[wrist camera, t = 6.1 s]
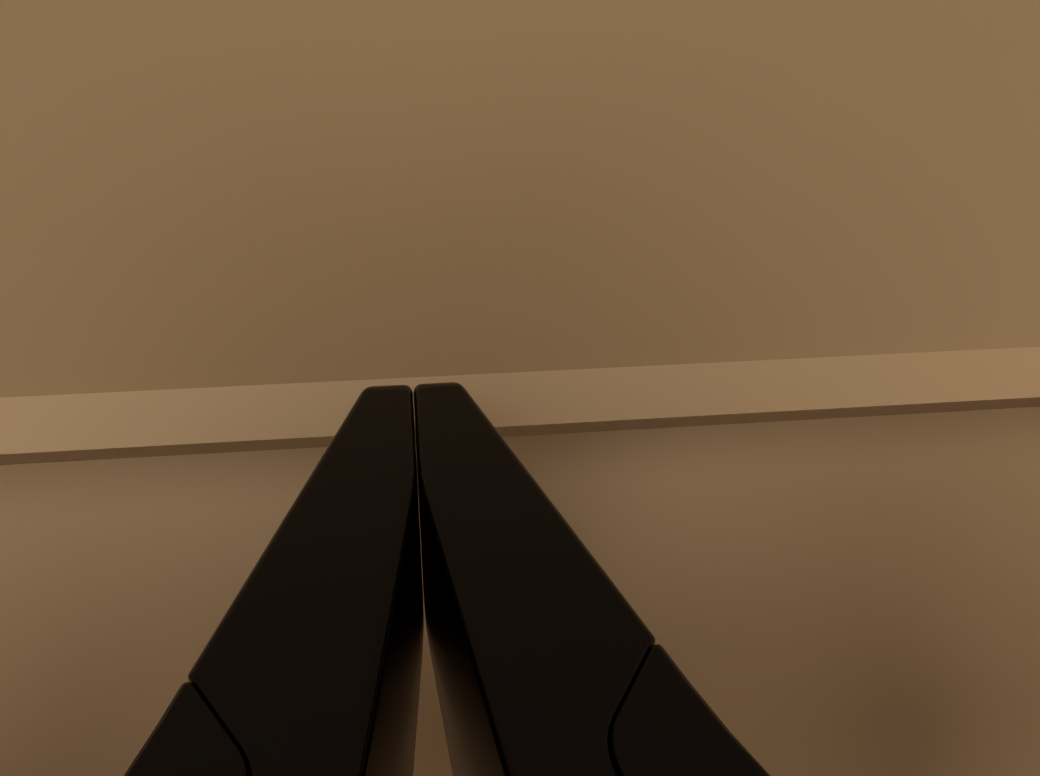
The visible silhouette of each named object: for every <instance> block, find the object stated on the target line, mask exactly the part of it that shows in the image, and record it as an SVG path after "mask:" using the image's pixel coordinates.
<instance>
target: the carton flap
mask: <svg viewBox="0 0 1040 776" xmlns="http://www.w3.org/2000/svg"><path fill="white" fill-rule="evenodd" d="M1022 347H1040V0H0V398H5V397H25V396H45V395H66V394H86V393H106V392H127V391H147V390H167V389H188V388H208V387H228V386H249V385H269V384H290V383H310V382H330V381H351V380H371V379H391V378H412V377H432V376H452V375H473V374H493V373H513V372H534V371H554V370H574V369H595V368H615V367H636V366H656V365H676V364H697V363H717V362H737V361H758V360H778V359H798V358H819V357H839V356H859V355H880V354H900V353H921V352H941V351H961V350H982V349H1002V348H1022Z"/></svg>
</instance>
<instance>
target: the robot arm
mask: <svg viewBox="0 0 1040 776" xmlns="http://www.w3.org/2000/svg"><path fill="white" fill-rule="evenodd" d="M413 396H414V406H413ZM414 417H415V424H414ZM415 437H416V443H415ZM416 458H417V461H416ZM417 477H418V481H417ZM418 497H419V501H418ZM419 516H420V522H419ZM420 535H421V543H420ZM421 554H422V563H421ZM422 573H423V584H422ZM423 592H424V608H425V620H426V629H427V636H428V643H429V649H430V655H431V661H432V666H433V671H434V677H435V682H436V688H437V693H438V698H439V704H440V709H441V714H442V720H443V725H444V731H445V736H446V741H447V747H448V752H449V758H450V763H451V768H452V774H453V776H771V775H770V774H769V773H768V772H767V771H766V770H765V769H764V768H763V767H762V766H761V765H760V763H759V762H758V761H757V760H756V759H755V758H754V757H753V756H752V755H751V754H750V753H749V752H748V750H747V749H746V748H745V747H744V746H743V745H742V744H741V743H740V742H739V741H738V740H737V739H736V737H735V736H734V735H733V734H732V733H731V732H730V731H729V730H728V728H727V727H726V726H725V725H724V723H723V722H722V721H721V720H720V719H719V717H718V716H717V715H716V714H715V712H714V711H713V710H712V709H711V707H710V706H709V705H708V704H707V703H706V701H705V700H704V699H703V698H702V696H701V695H700V694H699V693H698V692H697V690H696V689H695V688H694V687H693V685H692V684H691V683H690V682H689V681H688V679H687V678H686V677H685V675H684V674H683V673H682V671H681V670H680V669H679V667H678V666H677V665H676V663H675V662H674V661H673V660H672V658H671V657H670V656H669V654H668V653H667V652H666V650H665V649H664V648H663V646H662V645H660V644H655V637H654V635H653V634H652V633H651V631H650V630H649V629H648V627H647V626H646V625H645V623H644V622H643V621H642V620H641V618H640V617H639V616H638V614H637V613H636V612H635V610H634V609H633V608H632V606H631V605H630V604H629V603H628V601H627V600H626V599H625V597H624V596H623V595H622V593H621V592H620V591H619V589H618V588H617V587H616V586H615V584H614V583H613V582H612V580H611V579H610V578H609V576H608V575H607V574H606V572H605V571H604V570H603V569H602V567H601V566H600V565H599V563H598V562H597V561H596V559H595V558H594V557H593V555H592V554H591V553H590V552H589V550H588V549H587V548H586V546H585V545H584V544H583V542H582V541H581V540H580V538H579V537H578V536H577V535H576V533H575V532H574V531H573V529H572V528H571V527H570V525H569V524H568V523H567V521H566V520H565V519H564V518H563V516H562V515H561V514H560V512H559V511H558V510H557V508H556V507H555V506H554V504H553V503H552V502H551V500H550V499H549V498H548V497H547V495H546V494H545V493H544V491H543V490H542V489H541V487H540V486H539V485H538V483H537V482H536V481H535V480H534V478H533V477H532V476H531V474H530V473H529V472H528V470H527V469H526V468H525V466H524V465H523V464H522V463H521V461H520V460H519V459H518V457H517V456H516V455H515V453H514V452H513V451H512V449H511V448H510V447H509V446H508V444H507V443H506V442H505V440H504V439H503V438H502V436H501V435H500V434H499V432H498V431H497V430H496V429H495V427H494V426H493V425H492V423H491V422H490V421H489V419H488V418H487V417H486V415H485V414H484V413H483V412H482V410H481V409H480V408H479V406H478V405H477V404H476V402H475V401H474V400H473V398H472V397H471V396H470V394H469V393H468V392H467V391H466V389H465V388H464V387H463V386H462V385H461V384H459V383H455V382H448V383H428V384H419V385H417V386H416V387H415V389H414V392H412V389H411V388H410V387H409V386H407V385H388V386H371V387H367V388H366V389H364V390H363V391H362V393H361V394H360V395H359V397H358V399H357V400H356V402H355V404H354V405H353V407H352V408H351V410H350V412H349V413H348V415H347V417H346V418H345V420H344V421H343V423H342V425H341V426H340V428H339V430H338V431H337V433H336V434H335V436H334V438H333V439H332V441H331V443H330V444H329V446H328V448H327V449H326V451H325V452H324V454H323V456H322V457H321V459H320V461H319V462H318V464H317V465H316V467H315V469H314V470H313V472H312V474H311V475H310V477H309V478H308V480H307V482H306V483H305V485H304V487H303V488H302V490H301V491H300V493H299V495H298V496H297V498H296V500H295V501H294V503H293V505H292V506H291V508H290V509H289V511H288V513H287V514H286V516H285V518H284V519H283V521H282V522H281V524H280V526H279V527H278V529H277V531H276V532H275V534H274V535H273V537H272V539H271V540H270V542H269V544H268V545H267V547H266V548H265V550H264V552H263V553H262V555H261V557H260V558H259V560H258V561H257V563H256V565H255V566H254V568H253V570H252V571H251V573H250V575H249V576H248V578H247V579H246V581H245V583H244V584H243V586H242V588H241V589H240V591H239V592H238V594H237V596H236V597H235V599H234V601H233V602H232V604H231V605H230V607H229V609H228V610H227V612H226V614H225V615H224V617H223V618H222V620H221V622H220V623H219V625H218V627H217V628H216V630H215V632H214V633H213V635H212V636H211V638H210V640H209V641H208V643H207V645H206V646H205V648H204V649H203V651H202V653H201V654H200V656H199V658H198V659H197V661H196V662H195V664H194V666H193V667H192V669H191V671H190V672H189V674H188V680H189V682H185V683H183V684H182V685H181V686H180V688H179V689H178V691H177V692H176V694H175V696H174V697H173V699H172V701H171V702H170V704H169V706H168V707H167V709H166V710H165V712H164V714H163V715H162V717H161V719H160V720H159V722H158V724H157V725H156V727H155V728H154V730H153V731H152V733H151V734H150V736H149V737H148V739H147V740H146V742H145V744H144V745H143V747H142V748H141V750H140V751H139V753H138V754H137V756H136V757H135V759H134V760H133V762H132V763H131V765H130V766H129V768H128V769H127V771H126V772H125V774H124V775H123V776H413V769H414V757H415V744H416V731H417V719H418V706H419V693H420V681H421V668H422V655H423V635H424V608H423Z"/></svg>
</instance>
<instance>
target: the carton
mask: <svg viewBox="0 0 1040 776" xmlns="http://www.w3.org/2000/svg"><path fill="white" fill-rule="evenodd" d="M448 382H455V383H459V384H461V385H462V386H463V387H464V388H465V389H466V391H467V392H468V393H469V394H470V396H471V397H472V398H473V400H474V401H475V402H476V404H477V405H478V406H479V408H480V409H481V410H482V412H483V413H484V414H485V415H486V417H487V418H488V419H489V421H490V422H491V423H492V425H493V426H494V427H495V429H496V430H497V431H498V432H499V434H500V435H501V436H502V438H503V439H504V440H505V442H506V443H507V444H508V446H509V447H510V448H511V449H512V451H513V452H514V453H515V455H516V456H517V457H518V459H519V460H520V461H521V463H522V464H523V465H524V466H525V468H526V469H527V470H528V472H529V473H530V474H531V476H532V477H533V478H534V480H535V481H536V482H537V483H538V485H539V486H540V487H541V489H542V490H543V491H544V493H545V494H546V495H547V497H548V498H549V499H550V500H551V502H552V503H553V504H554V506H555V507H556V508H557V510H558V511H559V512H560V514H561V515H562V516H563V518H564V519H565V520H566V521H567V523H568V524H569V525H570V527H571V528H572V529H573V531H574V532H575V533H576V535H577V536H578V537H579V538H580V540H581V541H582V542H583V544H584V545H585V546H586V548H587V549H588V550H589V552H590V553H591V554H592V555H593V557H594V558H595V559H596V561H597V562H598V563H599V565H600V566H601V567H602V569H603V570H604V571H605V572H606V574H607V575H608V576H609V578H610V579H611V580H612V582H613V583H614V584H615V586H616V587H617V588H618V589H619V591H620V592H621V593H622V595H623V596H624V597H625V599H626V600H627V601H628V603H629V604H630V605H631V606H632V608H633V609H634V610H635V612H636V613H637V614H638V616H639V617H640V618H641V620H642V621H643V622H644V623H645V625H646V626H647V627H648V629H649V630H650V631H651V633H652V634H653V635H654V637H655V644H660V645H662V646H663V648H664V649H665V650H666V652H667V653H668V654H669V656H670V657H671V658H672V660H673V661H674V662H675V663H676V665H677V666H678V667H679V669H680V670H681V671H682V673H683V674H684V675H685V677H686V678H687V679H688V681H689V682H690V683H691V684H692V685H693V687H694V688H695V689H696V690H697V692H698V693H699V694H700V695H701V696H702V698H703V699H704V700H705V701H706V703H707V704H708V705H709V706H710V707H711V709H712V710H713V711H714V712H715V714H716V715H717V716H718V717H719V719H720V720H721V721H722V722H723V723H724V725H725V726H726V727H727V728H728V730H729V731H730V732H731V733H732V734H733V735H734V736H735V737H736V739H737V740H738V741H739V742H740V743H741V744H742V745H743V746H744V747H745V748H746V749H747V750H748V752H749V753H750V754H751V755H752V756H753V757H754V758H755V759H756V760H757V761H758V762H759V763H760V765H761V766H762V767H763V768H764V769H765V770H766V771H767V772H768V773H769V774H770V775H771V776H1040V347H1022V348H1002V349H982V350H961V351H941V352H921V353H900V354H880V355H859V356H839V357H819V358H798V359H778V360H758V361H737V362H717V363H697V364H676V365H656V366H636V367H615V368H595V369H574V370H554V371H534V372H513V373H493V374H473V375H452V376H432V377H412V378H391V379H371V380H351V381H330V382H310V383H290V384H269V385H249V386H228V387H208V388H188V389H167V390H147V391H127V392H106V393H86V394H66V395H45V396H25V397H5V398H0V776H123V775H124V774H125V772H126V771H127V769H128V768H129V766H130V765H131V763H132V762H133V760H134V759H135V757H136V756H137V754H138V753H139V751H140V750H141V748H142V747H143V745H144V744H145V742H146V740H147V739H148V737H149V736H150V734H151V733H152V731H153V730H154V728H155V727H156V725H157V724H158V722H159V720H160V719H161V717H162V715H163V714H164V712H165V710H166V709H167V707H168V706H169V704H170V702H171V701H172V699H173V697H174V696H175V694H176V692H177V691H178V689H179V688H180V686H181V685H182V684H183V683H185V682H189V680H188V674H189V672H190V671H191V669H192V667H193V666H194V664H195V662H196V661H197V659H198V658H199V656H200V654H201V653H202V651H203V649H204V648H205V646H206V645H207V643H208V641H209V640H210V638H211V636H212V635H213V633H214V632H215V630H216V628H217V627H218V625H219V623H220V622H221V620H222V618H223V617H224V615H225V614H226V612H227V610H228V609H229V607H230V605H231V604H232V602H233V601H234V599H235V597H236V596H237V594H238V592H239V591H240V589H241V588H242V586H243V584H244V583H245V581H246V579H247V578H248V576H249V575H250V573H251V571H252V570H253V568H254V566H255V565H256V563H257V561H258V560H259V558H260V557H261V555H262V553H263V552H264V550H265V548H266V547H267V545H268V544H269V542H270V540H271V539H272V537H273V535H274V534H275V532H276V531H277V529H278V527H279V526H280V524H281V522H282V521H283V519H284V518H285V516H286V514H287V513H288V511H289V509H290V508H291V506H292V505H293V503H294V501H295V500H296V498H297V496H298V495H299V493H300V491H301V490H302V488H303V487H304V485H305V483H306V482H307V480H308V478H309V477H310V475H311V474H312V472H313V470H314V469H315V467H316V465H317V464H318V462H319V461H320V459H321V457H322V456H323V454H324V452H325V451H326V449H327V448H328V446H329V444H330V443H331V441H332V439H333V438H334V436H335V434H336V433H337V431H338V430H339V428H340V426H341V425H342V423H343V421H344V420H345V418H346V417H347V415H348V413H349V412H350V410H351V408H352V407H353V405H354V404H355V402H356V400H357V399H358V397H359V395H360V394H361V393H362V391H363V390H364V389H366V388H367V387H371V386H388V385H407V386H409V387H410V388H411V389H412V392H414V389H415V387H416V386H417V385H419V384H428V383H448ZM413 406H414V396H413ZM414 424H415V417H414ZM415 443H416V437H415ZM416 461H417V458H416ZM417 481H418V477H417ZM418 501H419V497H418ZM419 522H420V516H419ZM420 543H421V535H420ZM421 563H422V554H421ZM422 584H423V573H422ZM423 608H424V592H423ZM413 776H453V774H452V768H451V763H450V758H449V752H448V747H447V741H446V736H445V731H444V725H443V720H442V714H441V709H440V704H439V698H438V693H437V688H436V682H435V677H434V671H433V666H432V661H431V655H430V649H429V643H428V636H427V629H426V620H425V608H424V635H423V655H422V668H421V681H420V693H419V706H418V719H417V731H416V744H415V757H414V769H413Z"/></svg>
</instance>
